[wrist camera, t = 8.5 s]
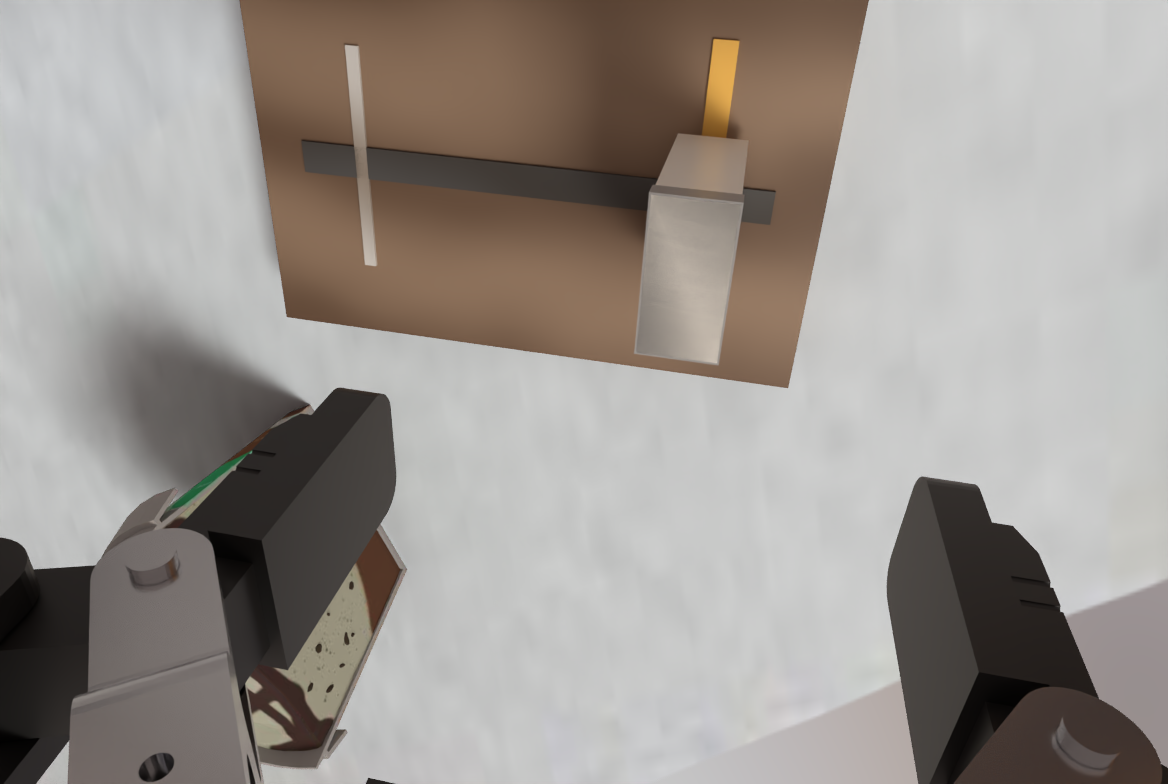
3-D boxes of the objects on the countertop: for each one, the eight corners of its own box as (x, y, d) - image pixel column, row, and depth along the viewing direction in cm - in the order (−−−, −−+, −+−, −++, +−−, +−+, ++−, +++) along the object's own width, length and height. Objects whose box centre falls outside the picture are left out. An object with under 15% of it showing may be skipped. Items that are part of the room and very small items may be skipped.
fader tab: (676, 131, 23) (649, 192, 18) (750, 138, 23) (743, 202, 18) (662, 265, 26) (634, 353, 20) (730, 274, 25) (718, 365, 20)
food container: (183, 406, 37) (4, 555, 28) (292, 374, 34) (135, 526, 26) (317, 608, 42) (200, 787, 33) (420, 592, 39) (323, 778, 31)
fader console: (275, -61, 26) (228, -58, 24) (862, -19, 23) (871, -12, 21) (319, 290, 32) (285, 317, 30) (787, 353, 29) (788, 389, 27)
